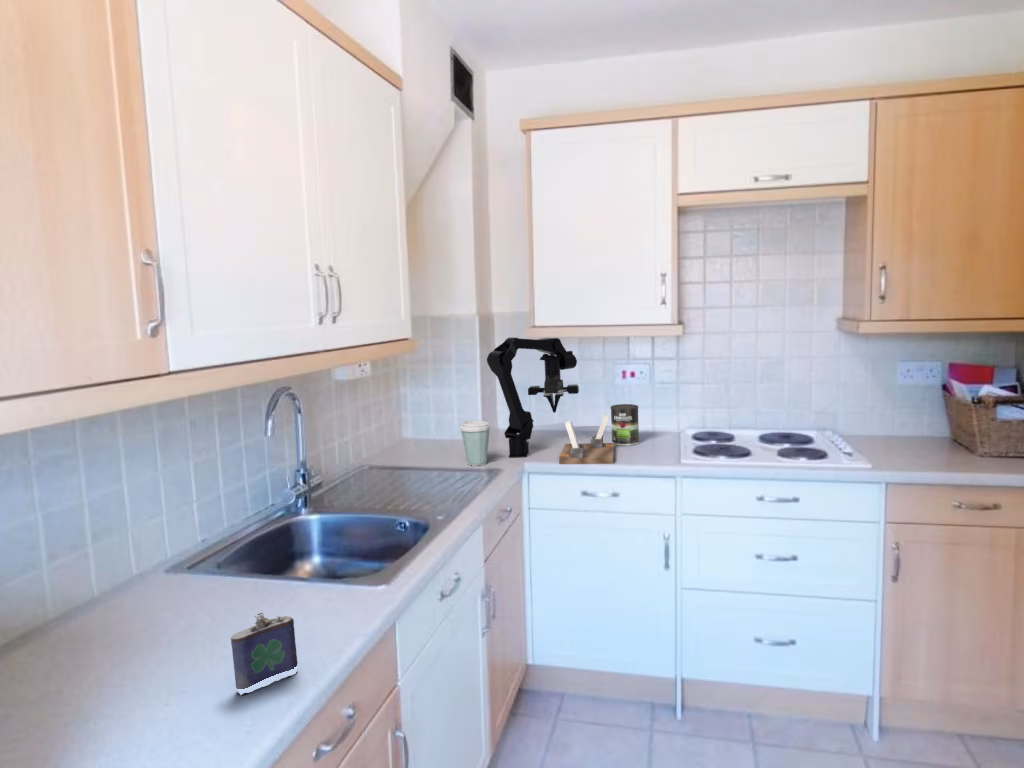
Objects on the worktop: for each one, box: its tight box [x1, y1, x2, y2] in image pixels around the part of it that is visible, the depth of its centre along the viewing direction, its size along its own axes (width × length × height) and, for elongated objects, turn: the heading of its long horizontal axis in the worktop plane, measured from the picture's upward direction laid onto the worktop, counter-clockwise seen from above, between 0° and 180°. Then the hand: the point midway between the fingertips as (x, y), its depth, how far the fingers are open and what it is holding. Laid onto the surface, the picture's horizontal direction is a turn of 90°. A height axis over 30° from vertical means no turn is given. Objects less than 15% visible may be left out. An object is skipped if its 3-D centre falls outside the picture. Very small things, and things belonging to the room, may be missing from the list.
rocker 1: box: [564, 420, 580, 448], centre depth 223 cm, size 2×4×12 cm, turn 170°
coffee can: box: [610, 403, 640, 447], centre depth 246 cm, size 10×10×14 cm
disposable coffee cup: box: [459, 420, 491, 467], centre depth 226 cm, size 11×11×15 cm
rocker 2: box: [595, 413, 610, 439], centre depth 235 cm, size 2×4×12 cm, turn 170°
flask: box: [230, 612, 299, 689], centre depth 99 cm, size 9×3×11 cm, turn 129°
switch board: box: [558, 434, 615, 465], centre depth 229 cm, size 18×22×5 cm
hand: (554, 412), depth 246 cm, fingers closed
